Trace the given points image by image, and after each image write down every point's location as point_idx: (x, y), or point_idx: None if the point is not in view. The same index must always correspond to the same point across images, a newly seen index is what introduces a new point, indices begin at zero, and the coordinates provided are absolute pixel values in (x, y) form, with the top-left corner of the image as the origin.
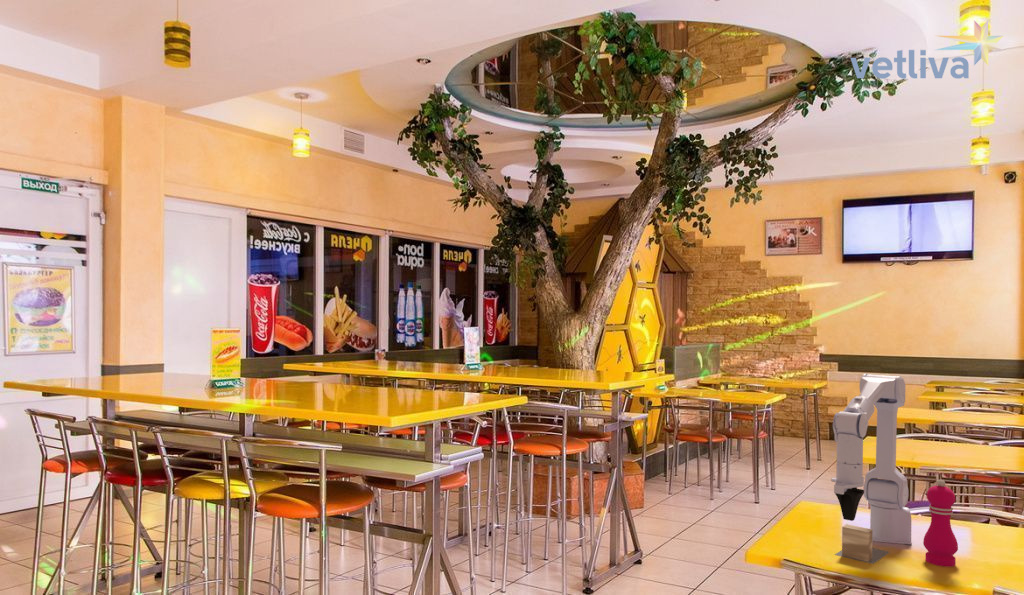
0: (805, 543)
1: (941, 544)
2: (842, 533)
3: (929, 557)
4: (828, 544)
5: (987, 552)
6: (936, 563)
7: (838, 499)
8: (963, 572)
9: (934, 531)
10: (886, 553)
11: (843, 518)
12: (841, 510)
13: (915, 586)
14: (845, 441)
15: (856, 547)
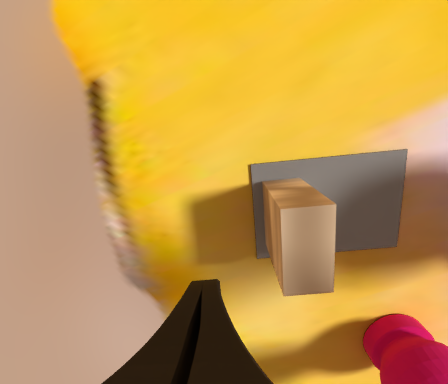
0: (303, 41)
1: None
2: (275, 201)
3: (377, 338)
4: (350, 99)
5: None
6: (365, 343)
7: (122, 366)
8: (356, 378)
9: None
10: (373, 246)
11: (192, 281)
12: (177, 304)
13: None
14: None
15: (269, 230)
